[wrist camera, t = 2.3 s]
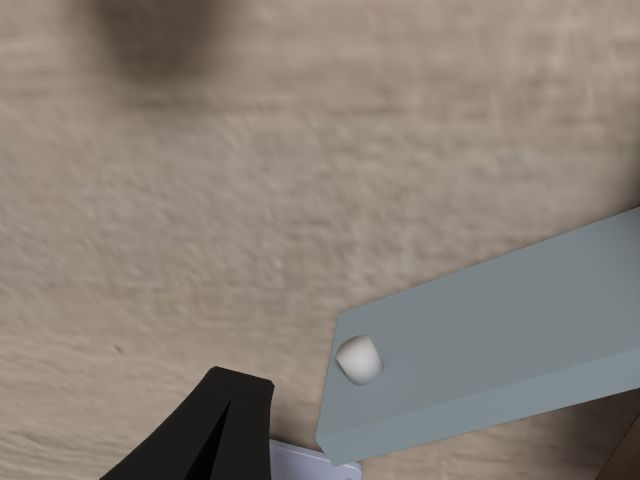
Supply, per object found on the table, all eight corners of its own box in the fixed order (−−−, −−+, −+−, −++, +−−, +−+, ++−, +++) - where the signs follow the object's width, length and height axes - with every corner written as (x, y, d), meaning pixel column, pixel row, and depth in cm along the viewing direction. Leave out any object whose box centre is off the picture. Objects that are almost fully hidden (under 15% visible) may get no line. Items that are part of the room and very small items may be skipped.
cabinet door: (352, 337, 23) (333, 467, 17) (326, 293, 22) (298, 415, 16) (807, 183, 18) (990, 296, 12) (795, 118, 17) (984, 208, 11)
